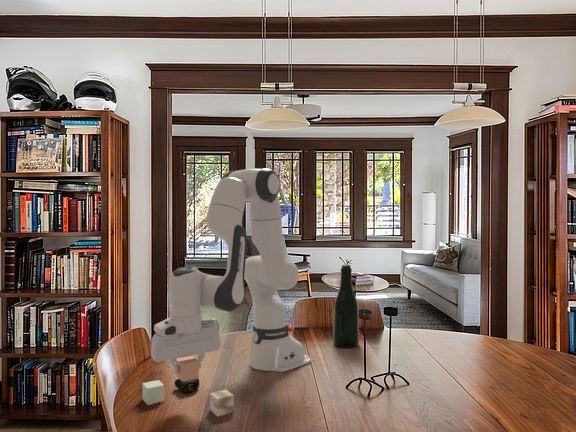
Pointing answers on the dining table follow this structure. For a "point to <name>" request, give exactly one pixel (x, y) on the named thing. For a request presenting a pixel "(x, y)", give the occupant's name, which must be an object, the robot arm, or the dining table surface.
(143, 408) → the dining table surface
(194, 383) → the tape measure
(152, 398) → the sage block
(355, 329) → the beer bottle
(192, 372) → the peach block
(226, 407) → the birch block
